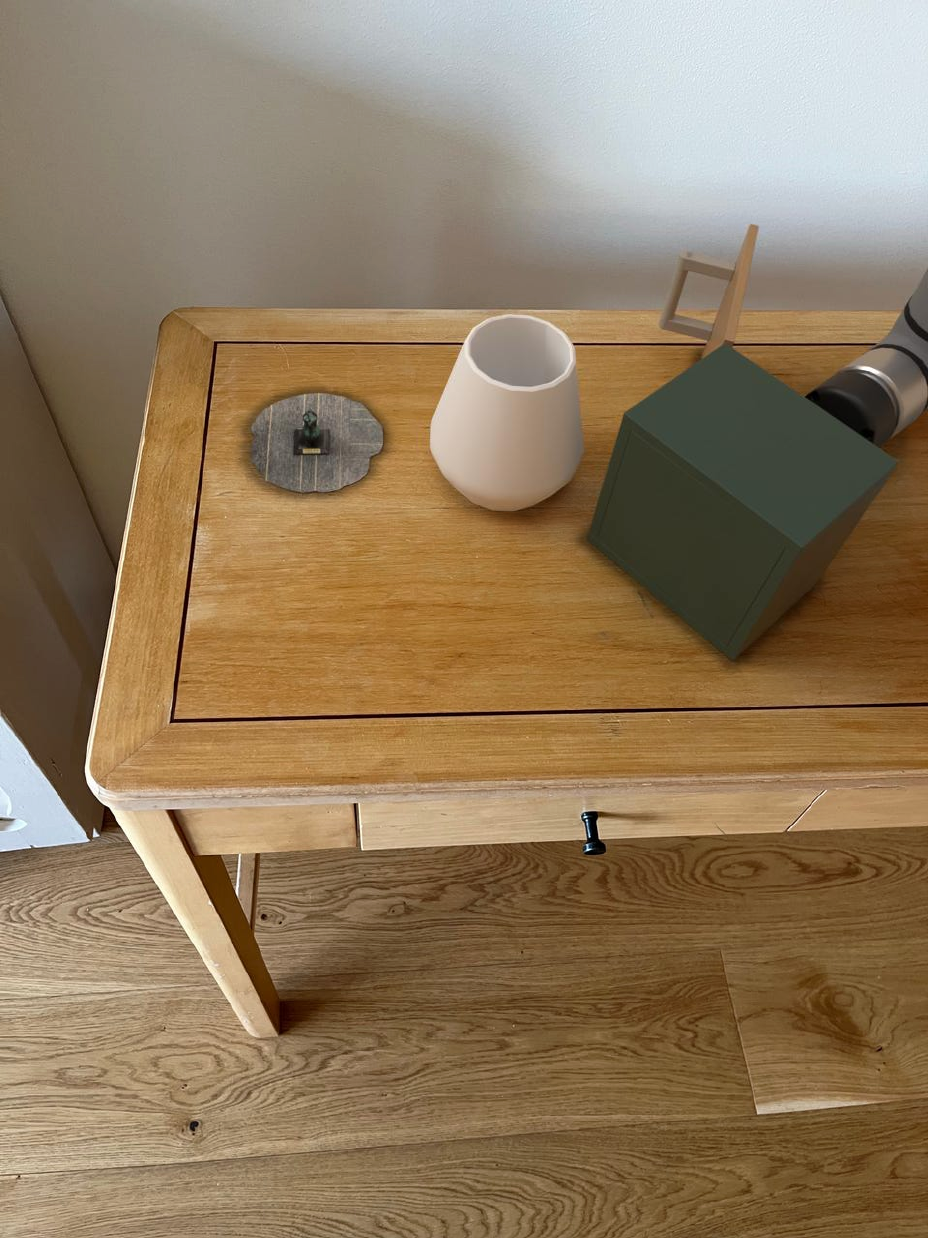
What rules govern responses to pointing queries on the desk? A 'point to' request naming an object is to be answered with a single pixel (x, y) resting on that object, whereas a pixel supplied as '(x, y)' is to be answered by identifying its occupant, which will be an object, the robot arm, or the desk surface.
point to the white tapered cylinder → (510, 414)
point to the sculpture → (315, 442)
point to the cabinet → (732, 496)
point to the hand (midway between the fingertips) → (687, 539)
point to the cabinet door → (731, 301)
